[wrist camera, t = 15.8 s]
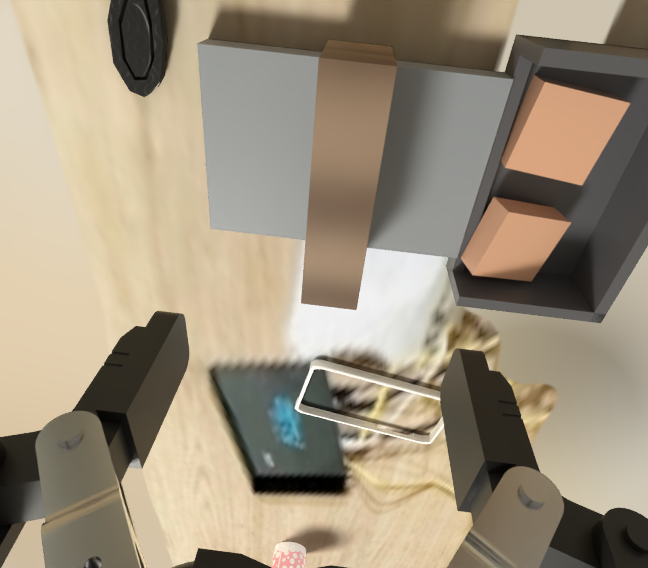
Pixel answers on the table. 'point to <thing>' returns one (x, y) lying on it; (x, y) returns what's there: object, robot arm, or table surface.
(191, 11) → the table surface
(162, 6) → the hairbrush
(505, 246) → the tile
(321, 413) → the phone case
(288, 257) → the table surface
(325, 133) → the brown wooden block
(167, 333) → the robot arm
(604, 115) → the tile
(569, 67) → the tray
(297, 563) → the beverage cup
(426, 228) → the board
